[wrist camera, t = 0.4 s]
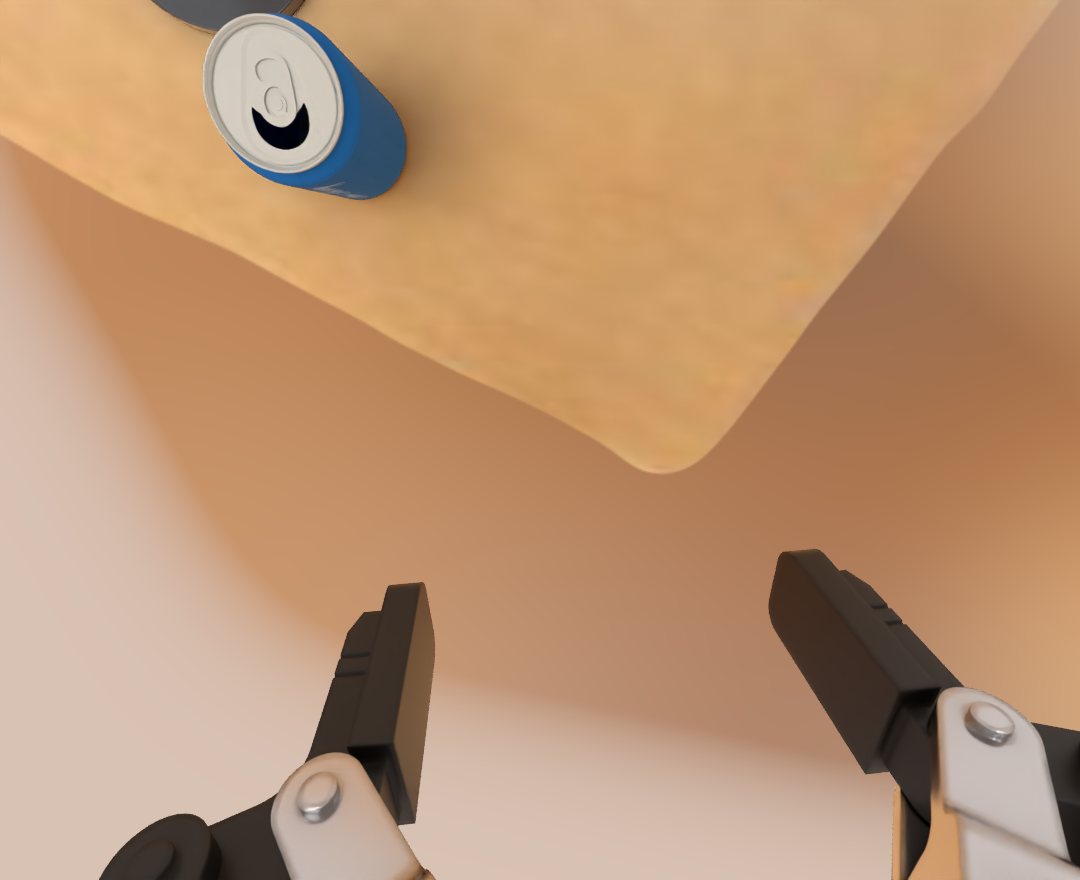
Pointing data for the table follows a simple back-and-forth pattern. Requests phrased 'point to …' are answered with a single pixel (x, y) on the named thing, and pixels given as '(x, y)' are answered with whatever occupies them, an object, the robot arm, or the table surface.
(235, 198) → the table surface
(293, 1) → the metal coaster
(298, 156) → the beverage can
